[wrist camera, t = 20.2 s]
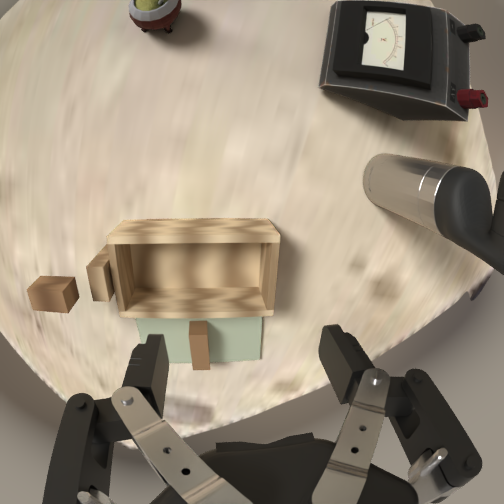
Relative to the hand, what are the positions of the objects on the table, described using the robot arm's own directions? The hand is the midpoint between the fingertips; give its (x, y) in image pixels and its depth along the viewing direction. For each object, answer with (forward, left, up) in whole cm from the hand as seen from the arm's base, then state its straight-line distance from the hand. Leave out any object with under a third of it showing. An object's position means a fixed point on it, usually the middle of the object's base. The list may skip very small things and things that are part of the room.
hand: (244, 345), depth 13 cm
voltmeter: (-22, -26, -30) cm, 46 cm away
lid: (+4, +23, -31) cm, 38 cm away
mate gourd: (+10, -30, -30) cm, 44 cm away
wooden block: (+22, +7, -20) cm, 31 cm away
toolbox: (+5, +7, -30) cm, 31 cm away
